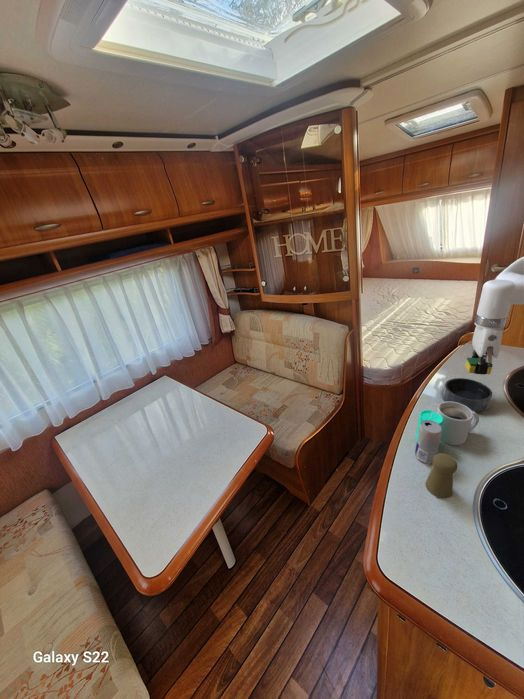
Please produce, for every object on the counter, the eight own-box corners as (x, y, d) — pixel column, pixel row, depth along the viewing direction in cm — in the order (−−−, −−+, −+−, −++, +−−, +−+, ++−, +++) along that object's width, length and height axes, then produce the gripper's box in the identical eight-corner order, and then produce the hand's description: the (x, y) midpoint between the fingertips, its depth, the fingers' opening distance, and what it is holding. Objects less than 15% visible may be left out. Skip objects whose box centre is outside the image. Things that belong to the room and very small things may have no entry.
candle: (411, 436, 88) (416, 407, 82) (429, 434, 88) (435, 404, 82) (422, 451, 82) (428, 421, 77) (441, 448, 82) (449, 418, 77)
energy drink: (426, 447, 83) (432, 417, 78) (439, 461, 78) (447, 430, 73) (410, 451, 83) (415, 422, 77) (423, 466, 78) (429, 435, 72)
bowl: (481, 392, 102) (485, 380, 99) (494, 416, 91) (498, 403, 88) (439, 388, 107) (441, 376, 104) (446, 410, 96) (449, 398, 93)
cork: (422, 476, 75) (428, 448, 70) (447, 478, 74) (454, 449, 69) (429, 497, 70) (436, 468, 65) (456, 499, 68) (465, 470, 63)
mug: (430, 438, 86) (435, 414, 81) (435, 420, 92) (440, 396, 88) (473, 452, 80) (481, 426, 75) (475, 431, 86) (482, 407, 82)
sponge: (486, 367, 94) (488, 358, 92) (490, 374, 90) (492, 365, 89) (465, 366, 96) (467, 357, 94) (468, 372, 92) (470, 363, 91)
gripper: (516, 331, 77) (500, 384, 85) (495, 310, 90) (483, 358, 98) (484, 331, 79) (471, 382, 88) (468, 311, 93) (458, 357, 101)
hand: (477, 369), depth 93 cm, fingers closed on sponge, 4 cm apart
